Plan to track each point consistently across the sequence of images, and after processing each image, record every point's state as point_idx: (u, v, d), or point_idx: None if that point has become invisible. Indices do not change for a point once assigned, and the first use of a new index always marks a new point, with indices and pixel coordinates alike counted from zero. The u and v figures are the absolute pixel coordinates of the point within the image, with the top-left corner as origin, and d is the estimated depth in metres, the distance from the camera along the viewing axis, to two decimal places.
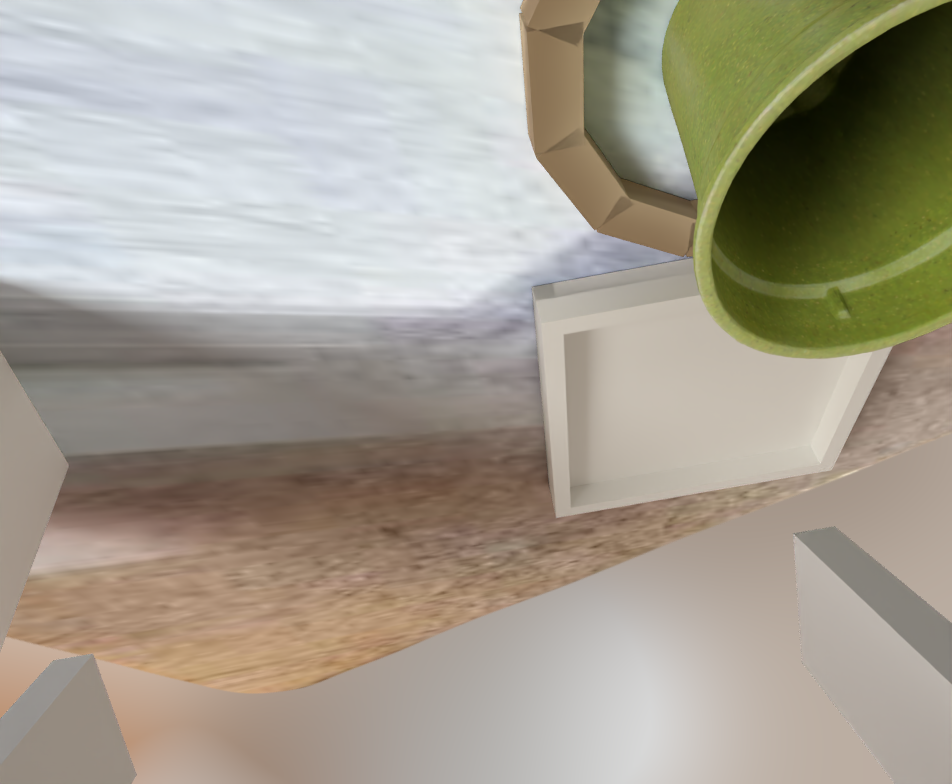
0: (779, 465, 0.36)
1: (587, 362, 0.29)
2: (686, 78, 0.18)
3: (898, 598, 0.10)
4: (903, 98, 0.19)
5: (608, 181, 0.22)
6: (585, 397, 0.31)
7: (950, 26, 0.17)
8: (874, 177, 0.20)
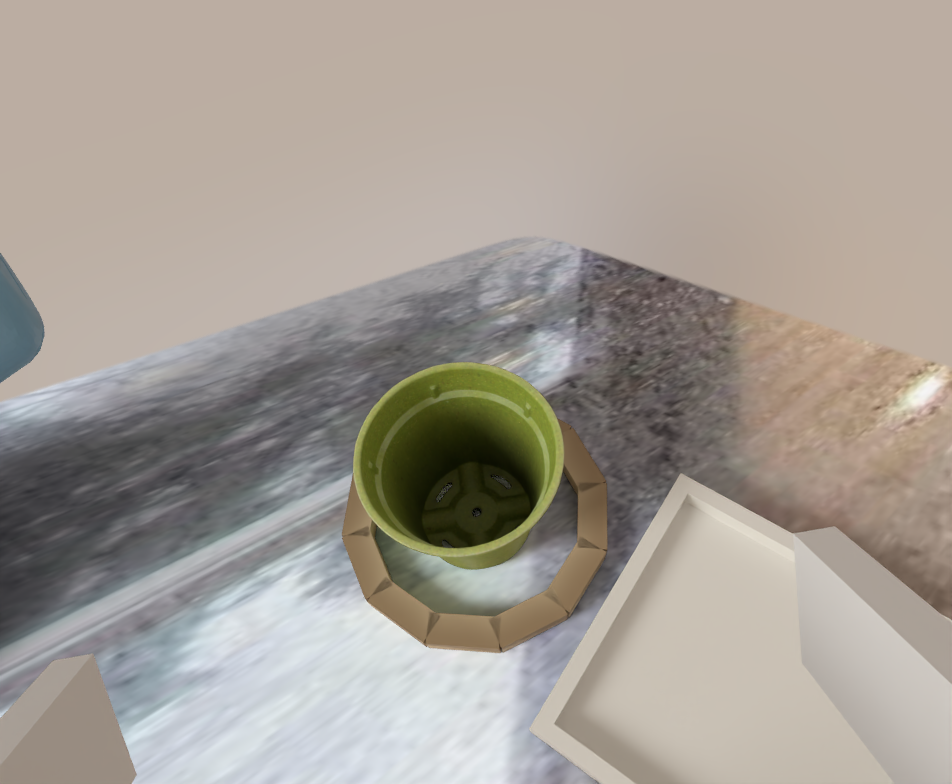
0: None
1: (628, 746, 0.31)
2: None
3: (898, 598, 0.10)
4: (524, 462, 0.37)
5: (473, 619, 0.34)
6: (675, 783, 0.31)
7: (489, 436, 0.37)
8: (537, 482, 0.35)
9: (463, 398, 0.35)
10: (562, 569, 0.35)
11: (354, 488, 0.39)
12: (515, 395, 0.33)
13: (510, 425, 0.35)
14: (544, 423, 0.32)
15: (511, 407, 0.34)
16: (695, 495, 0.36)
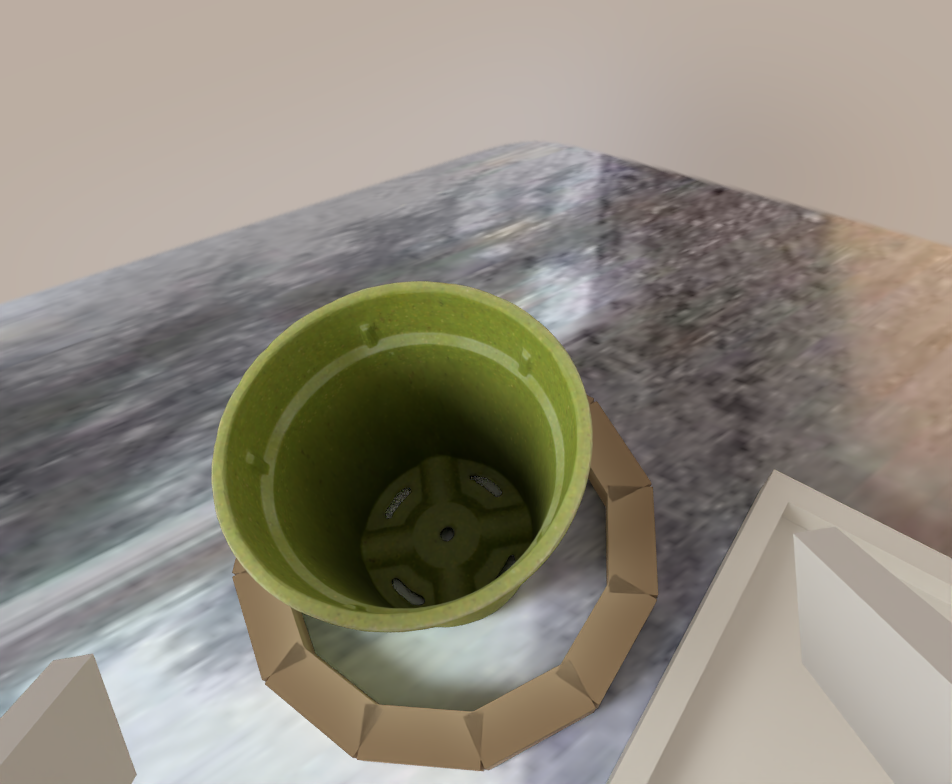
0: None
1: None
2: (349, 584, 0.21)
3: (898, 598, 0.10)
4: (521, 454, 0.23)
5: (437, 716, 0.21)
6: None
7: (465, 412, 0.23)
8: (543, 486, 0.21)
9: (419, 348, 0.21)
10: (585, 629, 0.21)
11: None
12: (504, 337, 0.19)
13: (497, 393, 0.21)
14: (554, 382, 0.18)
15: (497, 360, 0.20)
16: (801, 505, 0.22)
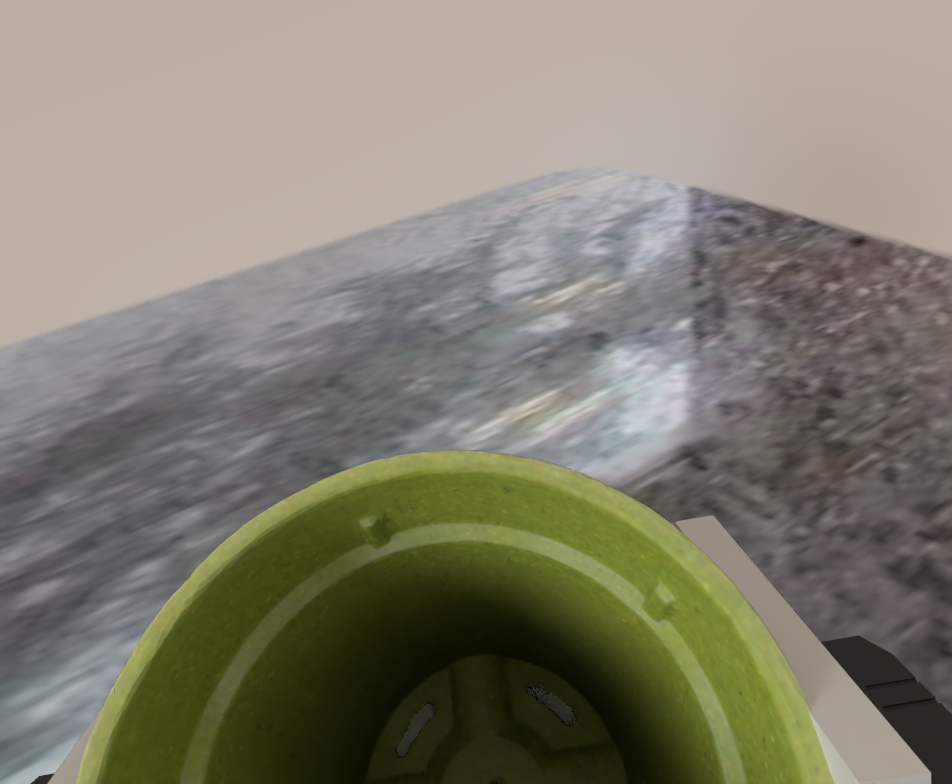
0: None
1: None
2: None
3: (745, 577, 0.11)
4: (618, 690, 0.14)
5: None
6: None
7: (527, 618, 0.14)
8: (671, 783, 0.12)
9: (461, 544, 0.12)
10: None
11: None
12: (622, 555, 0.11)
13: (592, 616, 0.13)
14: (731, 667, 0.09)
15: (600, 579, 0.11)
16: None
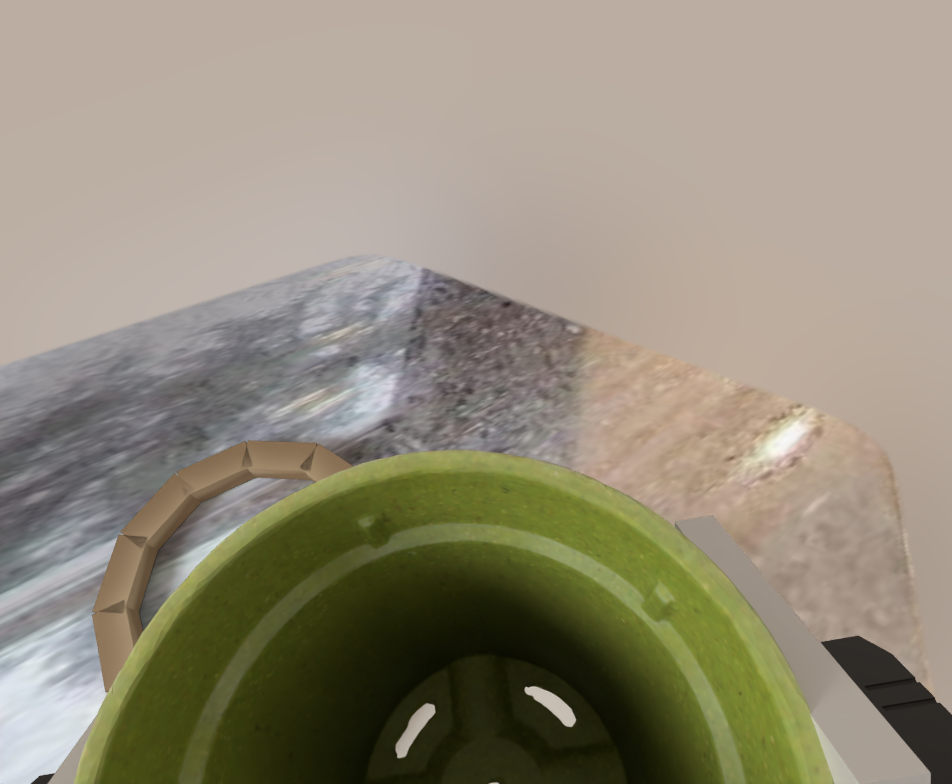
0: None
1: None
2: None
3: (745, 577, 0.11)
4: (618, 690, 0.14)
5: None
6: None
7: (527, 618, 0.14)
8: (671, 783, 0.12)
9: (460, 544, 0.12)
10: None
11: (116, 554, 0.33)
12: (621, 554, 0.11)
13: (591, 616, 0.13)
14: (731, 667, 0.09)
15: (599, 579, 0.11)
16: None
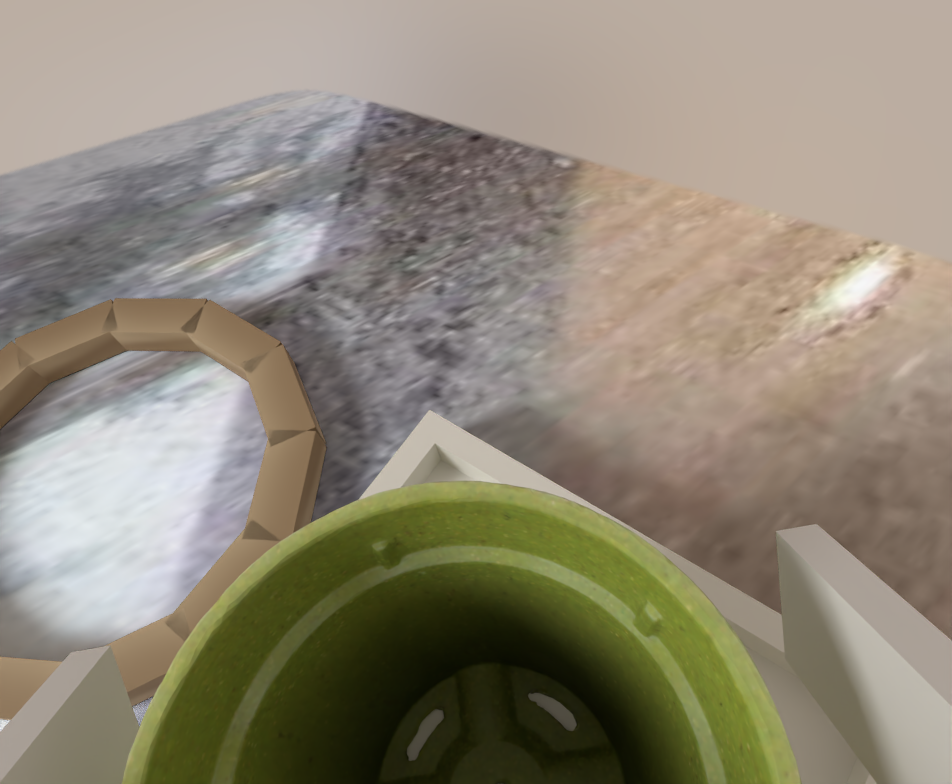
0: None
1: None
2: None
3: (875, 594, 0.10)
4: None
5: (33, 667, 0.19)
6: None
7: (529, 630, 0.15)
8: None
9: (466, 564, 0.13)
10: (207, 577, 0.20)
11: None
12: (613, 576, 0.12)
13: (588, 630, 0.14)
14: (712, 680, 0.10)
15: (595, 597, 0.12)
16: (447, 446, 0.20)
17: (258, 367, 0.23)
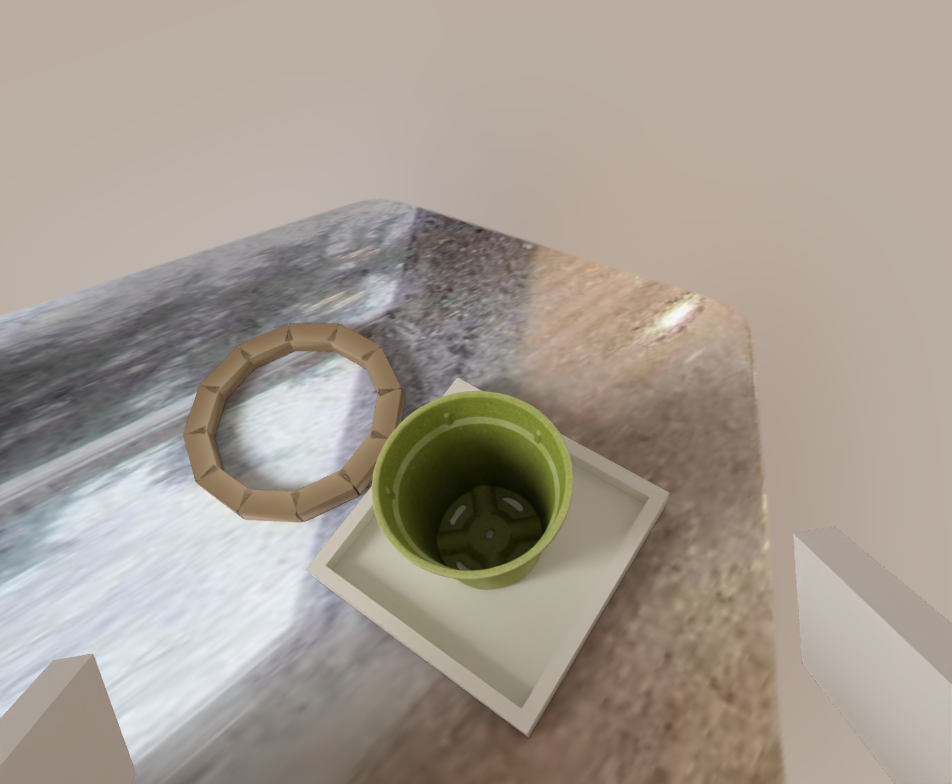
0: None
1: (387, 585, 0.39)
2: (436, 562, 0.36)
3: (898, 598, 0.10)
4: (535, 485, 0.38)
5: (278, 493, 0.42)
6: (419, 610, 0.38)
7: (501, 460, 0.38)
8: (548, 505, 0.36)
9: (476, 425, 0.36)
10: (355, 454, 0.43)
11: (198, 397, 0.47)
12: (526, 422, 0.35)
13: (521, 451, 0.36)
14: (554, 449, 0.33)
15: (522, 433, 0.35)
16: None
17: (369, 358, 0.47)
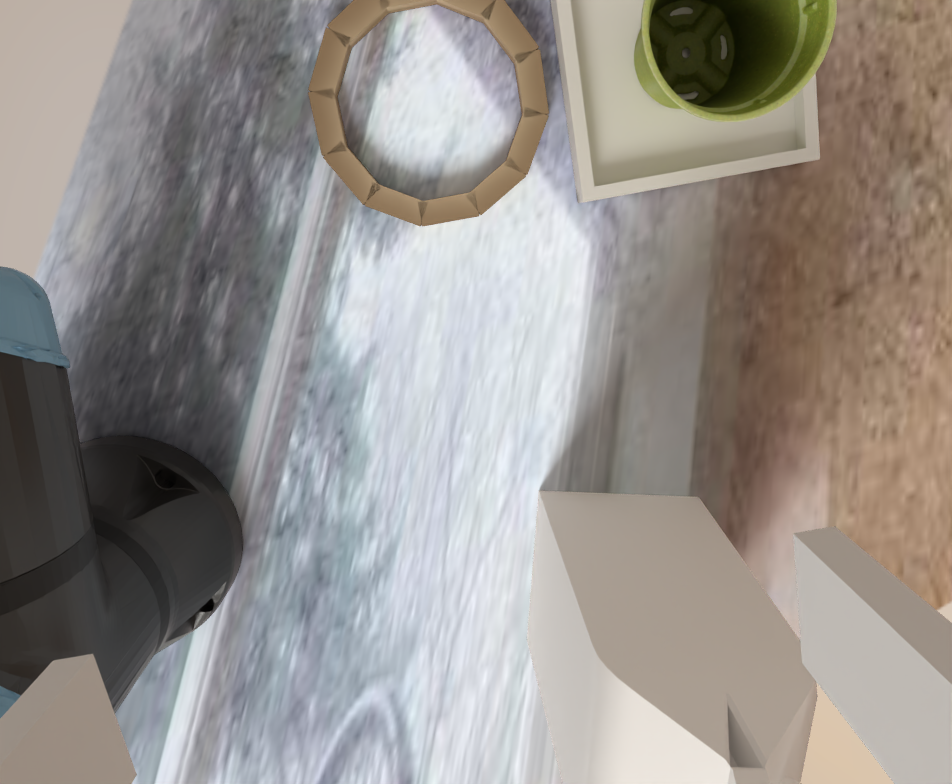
0: None
1: (639, 158, 0.43)
2: None
3: (898, 598, 0.10)
4: None
5: (495, 174, 0.43)
6: (677, 153, 0.43)
7: None
8: None
9: None
10: (521, 89, 0.42)
11: (336, 167, 0.43)
12: None
13: None
14: None
15: None
16: None
17: None
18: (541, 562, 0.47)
